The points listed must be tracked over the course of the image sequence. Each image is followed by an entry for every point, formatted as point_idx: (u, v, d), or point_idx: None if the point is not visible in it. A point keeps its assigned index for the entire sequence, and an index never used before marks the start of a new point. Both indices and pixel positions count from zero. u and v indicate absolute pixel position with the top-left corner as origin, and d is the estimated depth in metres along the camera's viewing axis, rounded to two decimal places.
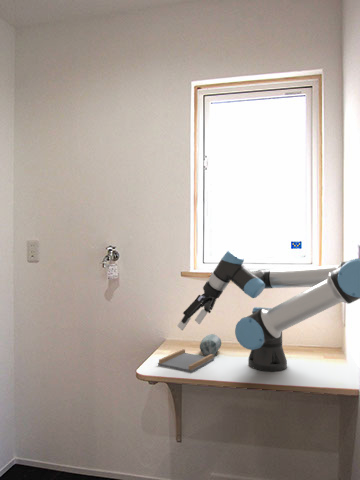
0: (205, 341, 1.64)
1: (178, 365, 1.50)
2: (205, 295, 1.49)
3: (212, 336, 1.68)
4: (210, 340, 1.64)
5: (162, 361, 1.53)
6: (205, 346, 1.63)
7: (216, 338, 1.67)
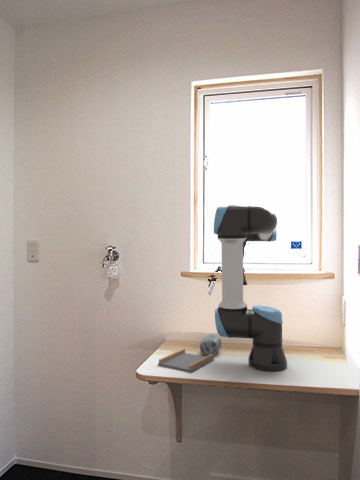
0: (205, 341, 1.64)
1: (178, 365, 1.50)
2: None
3: (212, 336, 1.68)
4: (210, 340, 1.64)
5: (162, 361, 1.53)
6: (205, 346, 1.63)
7: (216, 338, 1.67)
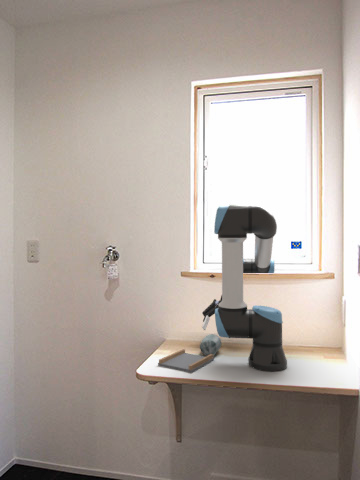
0: (205, 341, 1.64)
1: (178, 365, 1.50)
2: None
3: (212, 336, 1.68)
4: (210, 340, 1.64)
5: (162, 361, 1.53)
6: (205, 346, 1.63)
7: (216, 338, 1.67)
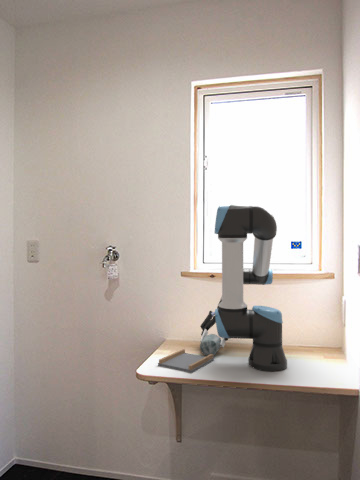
0: (205, 341, 1.64)
1: (178, 365, 1.50)
2: None
3: (212, 336, 1.68)
4: (210, 340, 1.64)
5: (162, 361, 1.53)
6: (205, 345, 1.63)
7: (216, 338, 1.67)
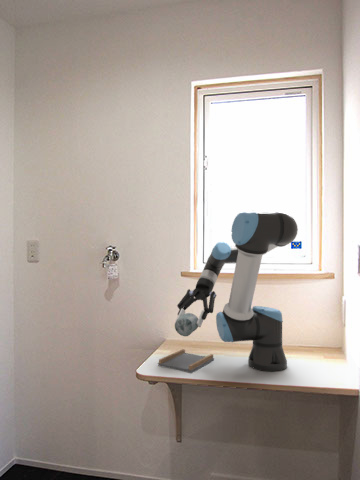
0: (180, 319, 1.51)
1: (178, 365, 1.50)
2: None
3: (188, 315, 1.55)
4: (185, 318, 1.51)
5: (162, 361, 1.53)
6: (180, 324, 1.51)
7: (192, 317, 1.55)
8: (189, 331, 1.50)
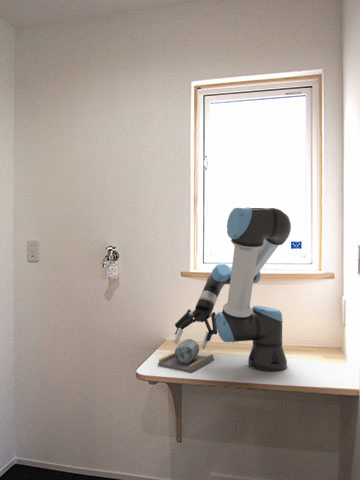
0: (180, 347, 1.51)
1: (178, 365, 1.50)
2: None
3: (188, 341, 1.55)
4: (185, 346, 1.51)
5: (162, 361, 1.53)
6: (180, 352, 1.50)
7: (193, 344, 1.54)
8: (189, 359, 1.50)
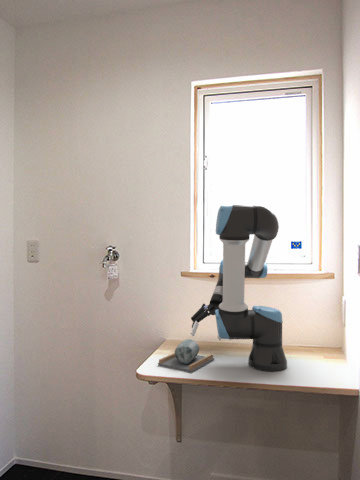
0: (180, 347, 1.51)
1: (178, 365, 1.50)
2: None
3: (188, 341, 1.55)
4: (185, 346, 1.51)
5: (162, 361, 1.53)
6: (180, 352, 1.50)
7: (193, 344, 1.54)
8: (189, 359, 1.50)
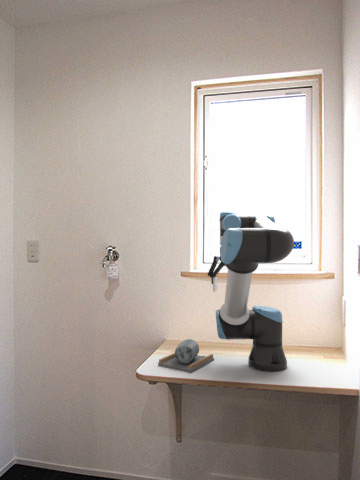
0: (180, 347, 1.51)
1: (178, 365, 1.50)
2: None
3: (188, 341, 1.55)
4: (185, 346, 1.51)
5: (162, 361, 1.53)
6: (180, 352, 1.50)
7: (193, 344, 1.54)
8: (189, 359, 1.50)
